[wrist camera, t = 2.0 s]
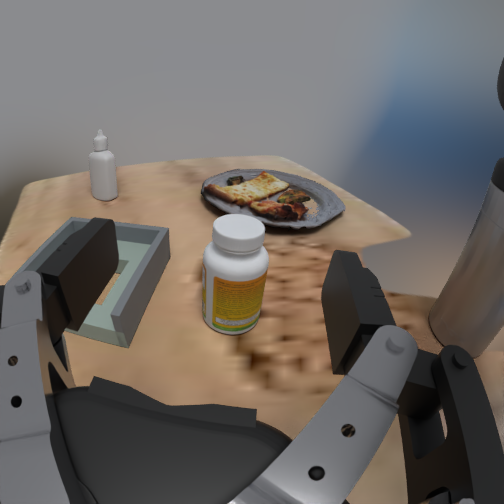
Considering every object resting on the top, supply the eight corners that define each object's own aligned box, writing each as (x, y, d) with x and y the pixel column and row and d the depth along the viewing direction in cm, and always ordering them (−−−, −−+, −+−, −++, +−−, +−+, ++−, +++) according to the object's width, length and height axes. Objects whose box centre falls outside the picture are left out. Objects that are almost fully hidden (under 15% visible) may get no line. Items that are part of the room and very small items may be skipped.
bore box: (128, 348, 23) (119, 316, 21) (18, 314, 23) (4, 285, 20) (170, 257, 34) (168, 228, 32) (76, 243, 34) (71, 217, 32)
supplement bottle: (270, 319, 28) (289, 230, 23) (227, 346, 25) (235, 252, 19) (233, 289, 31) (242, 204, 26) (191, 310, 28) (190, 219, 22)
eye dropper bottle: (113, 188, 50) (110, 125, 43) (119, 199, 46) (115, 130, 39) (91, 193, 47) (86, 129, 41) (95, 204, 44) (88, 134, 37)
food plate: (285, 256, 37) (290, 231, 35) (173, 197, 49) (173, 177, 47) (357, 211, 54) (362, 194, 52) (264, 174, 66) (266, 159, 64)
